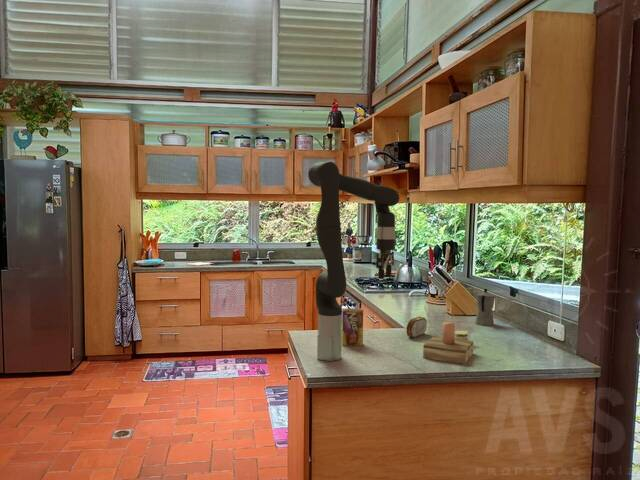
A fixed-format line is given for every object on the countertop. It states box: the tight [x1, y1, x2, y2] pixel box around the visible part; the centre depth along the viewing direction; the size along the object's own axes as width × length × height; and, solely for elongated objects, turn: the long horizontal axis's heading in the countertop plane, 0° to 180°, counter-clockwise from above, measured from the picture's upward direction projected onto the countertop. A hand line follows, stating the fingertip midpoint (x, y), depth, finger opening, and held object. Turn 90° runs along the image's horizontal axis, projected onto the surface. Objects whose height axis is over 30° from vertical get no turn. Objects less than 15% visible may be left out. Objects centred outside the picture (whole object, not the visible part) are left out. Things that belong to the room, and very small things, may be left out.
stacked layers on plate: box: [455, 330, 469, 340], centre depth 221 cm, size 10×9×6 cm
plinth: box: [422, 335, 474, 365], centre depth 204 cm, size 16×16×5 cm
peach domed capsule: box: [442, 321, 456, 344], centre depth 204 cm, size 5×5×8 cm
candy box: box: [342, 307, 364, 346], centre depth 218 cm, size 9×4×15 cm, turn 90°
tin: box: [406, 316, 428, 339], centre depth 234 cm, size 15×3×8 cm, turn 141°
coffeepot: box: [474, 288, 496, 327], centre depth 259 cm, size 15×9×18 cm, turn 153°
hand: (385, 277), depth 210 cm, fingers open, 8 cm apart
